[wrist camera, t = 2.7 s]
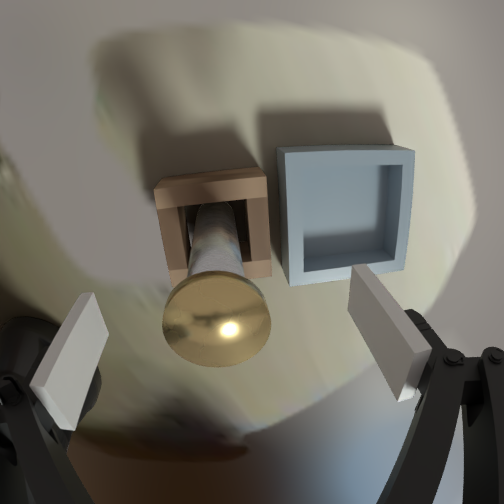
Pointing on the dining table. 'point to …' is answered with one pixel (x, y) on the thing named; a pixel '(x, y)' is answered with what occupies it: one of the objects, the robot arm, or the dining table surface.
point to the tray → (343, 209)
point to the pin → (216, 298)
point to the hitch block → (208, 191)
